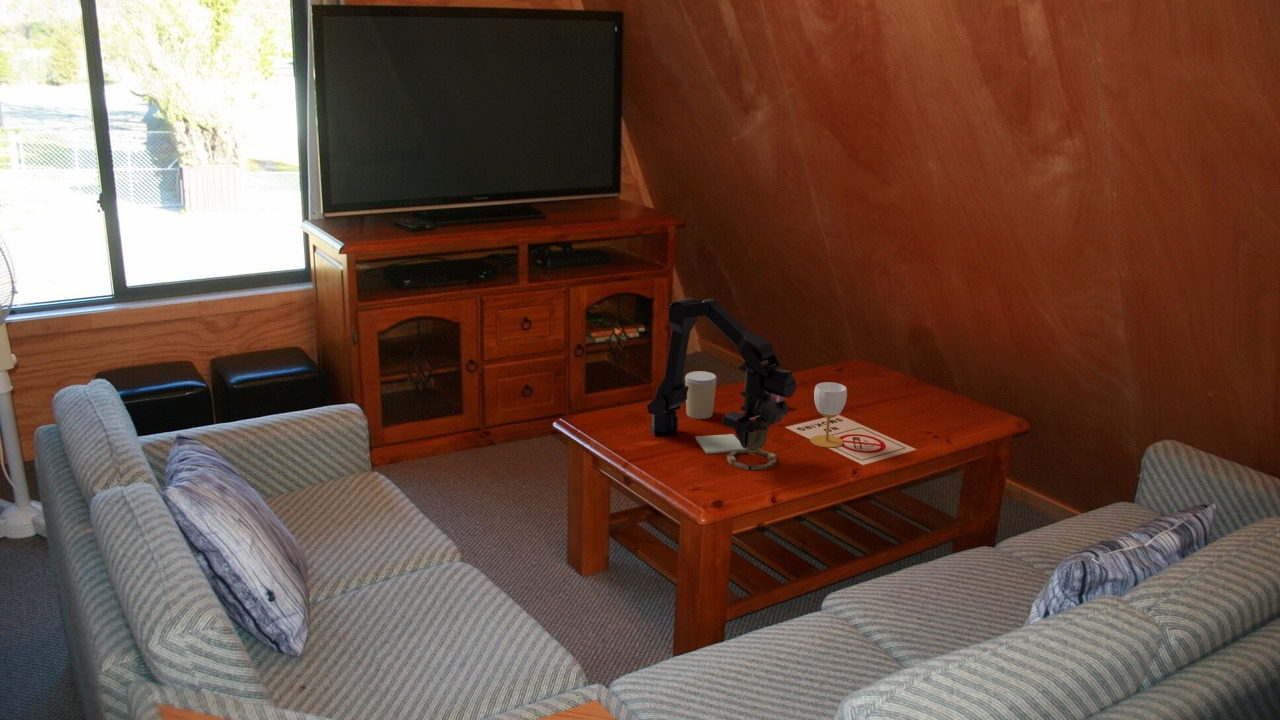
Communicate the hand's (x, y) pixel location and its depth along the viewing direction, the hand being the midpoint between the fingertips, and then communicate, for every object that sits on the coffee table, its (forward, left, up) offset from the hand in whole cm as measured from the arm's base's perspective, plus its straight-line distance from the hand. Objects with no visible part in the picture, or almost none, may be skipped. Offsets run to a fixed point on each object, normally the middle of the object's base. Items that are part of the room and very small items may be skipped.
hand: (752, 444), depth 275 cm
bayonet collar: (0, 0, -5) cm, 4 cm away
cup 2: (+25, +9, -5) cm, 27 cm away
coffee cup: (-4, +36, -5) cm, 37 cm away
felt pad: (-5, +12, -5) cm, 14 cm away
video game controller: (+18, +39, -5) cm, 43 cm away
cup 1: (0, 0, -2) cm, 2 cm away
